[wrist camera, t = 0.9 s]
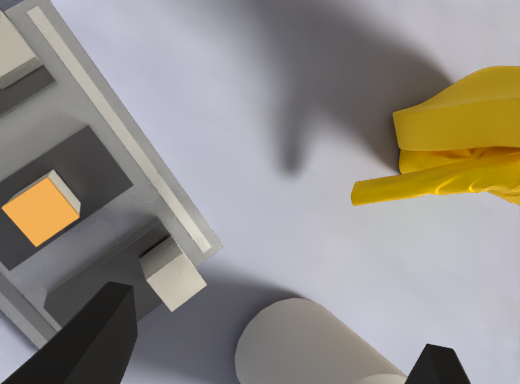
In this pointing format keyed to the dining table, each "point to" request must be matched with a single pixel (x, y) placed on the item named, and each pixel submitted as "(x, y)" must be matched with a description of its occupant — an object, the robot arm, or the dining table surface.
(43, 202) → the handle
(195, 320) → the dining table surface
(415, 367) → the robot arm
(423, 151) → the figure statuette
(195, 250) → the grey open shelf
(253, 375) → the can
